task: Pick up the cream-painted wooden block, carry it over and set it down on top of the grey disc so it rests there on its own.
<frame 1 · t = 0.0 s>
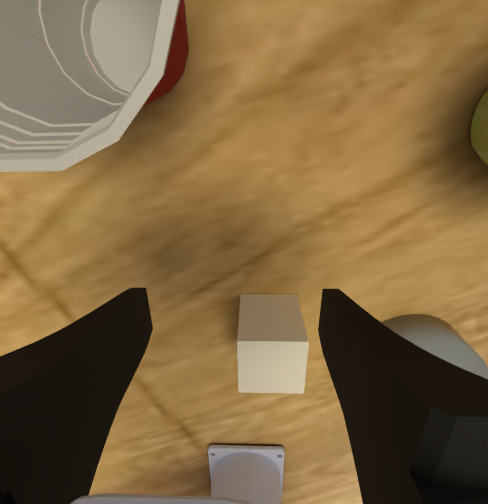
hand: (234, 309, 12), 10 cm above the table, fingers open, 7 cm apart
cream block: (268, 317, 25), on the table
plastic cup: (137, 46, 17), on the table
grey disc: (404, 355, 26), on the table
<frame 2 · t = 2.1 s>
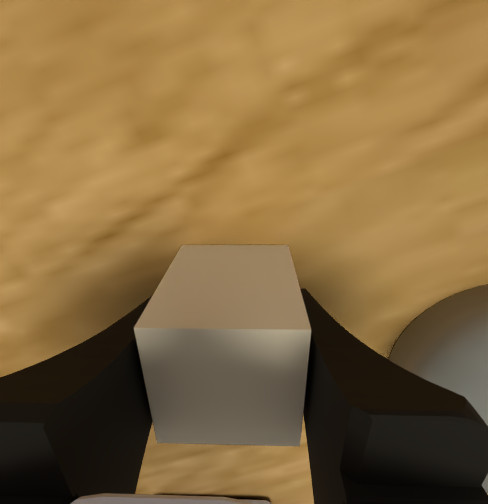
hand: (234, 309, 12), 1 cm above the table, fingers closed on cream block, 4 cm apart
cream block: (236, 290, 13), on the table, touching gripper
grey disc: (479, 360, 15), on the table
when the fingers open (6 cm above the table, at t = 5.2 s): cream block drops 1 cm, resting on grey disc.
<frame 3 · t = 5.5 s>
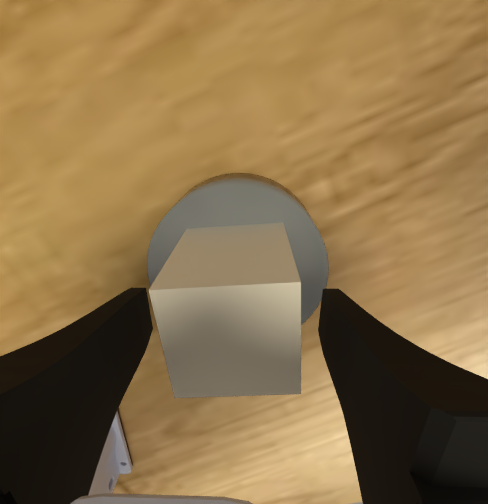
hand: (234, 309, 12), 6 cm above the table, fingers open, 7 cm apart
cream block: (238, 268, 15), point 3 cm above the table, touching grey disc
grey disc: (240, 248, 18), on the table, touching cream block
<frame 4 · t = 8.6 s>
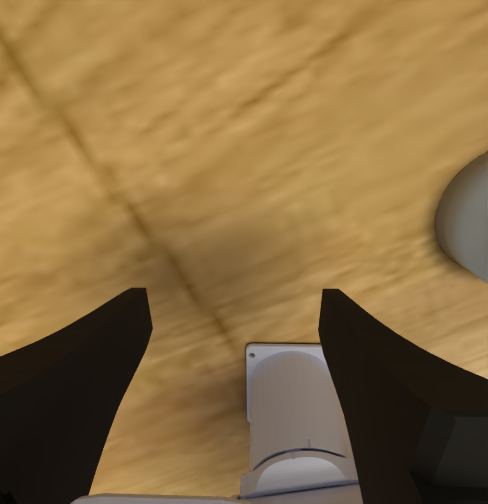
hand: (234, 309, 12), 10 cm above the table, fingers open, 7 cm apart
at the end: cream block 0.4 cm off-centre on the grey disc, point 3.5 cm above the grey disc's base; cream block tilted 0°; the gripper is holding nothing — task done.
